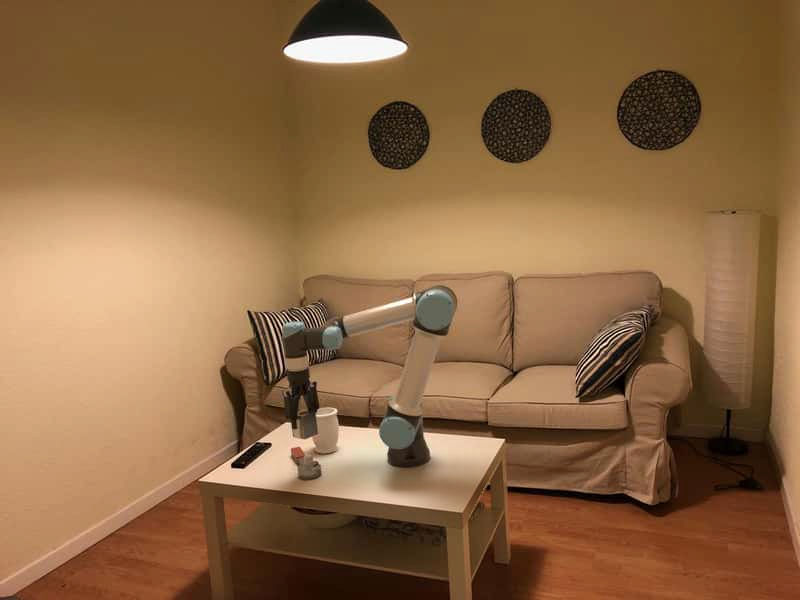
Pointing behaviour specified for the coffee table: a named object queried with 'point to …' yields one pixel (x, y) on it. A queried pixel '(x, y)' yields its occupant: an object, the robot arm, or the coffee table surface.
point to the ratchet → (306, 465)
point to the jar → (326, 430)
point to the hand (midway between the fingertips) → (305, 434)
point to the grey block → (307, 423)
